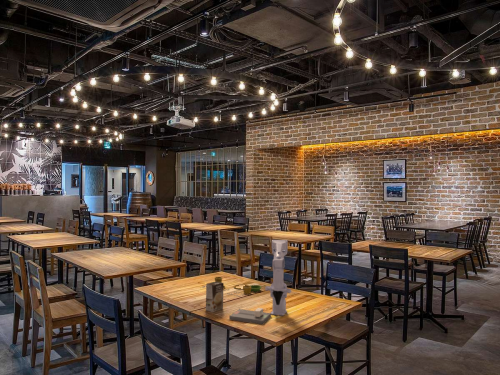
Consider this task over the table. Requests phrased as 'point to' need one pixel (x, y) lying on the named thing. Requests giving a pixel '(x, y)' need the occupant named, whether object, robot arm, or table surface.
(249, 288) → the tableware set
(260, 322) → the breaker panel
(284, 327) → the table surface
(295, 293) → the table surface
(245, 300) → the table surface
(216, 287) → the coffee box
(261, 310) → the breaker knob
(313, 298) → the table surface
